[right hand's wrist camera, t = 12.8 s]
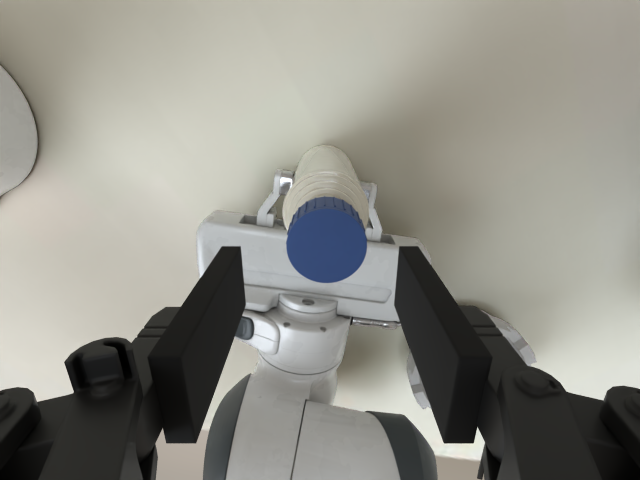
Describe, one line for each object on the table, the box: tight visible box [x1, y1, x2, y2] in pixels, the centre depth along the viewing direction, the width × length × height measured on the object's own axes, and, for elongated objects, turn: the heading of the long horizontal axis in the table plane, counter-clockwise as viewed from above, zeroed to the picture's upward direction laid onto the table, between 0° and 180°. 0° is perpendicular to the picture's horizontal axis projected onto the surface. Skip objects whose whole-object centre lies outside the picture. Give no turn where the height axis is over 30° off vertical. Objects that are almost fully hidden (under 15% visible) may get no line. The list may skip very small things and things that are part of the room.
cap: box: [286, 196, 367, 283], centre depth 19 cm, size 4×4×2 cm
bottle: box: [283, 145, 369, 231], centre depth 26 cm, size 6×6×19 cm
